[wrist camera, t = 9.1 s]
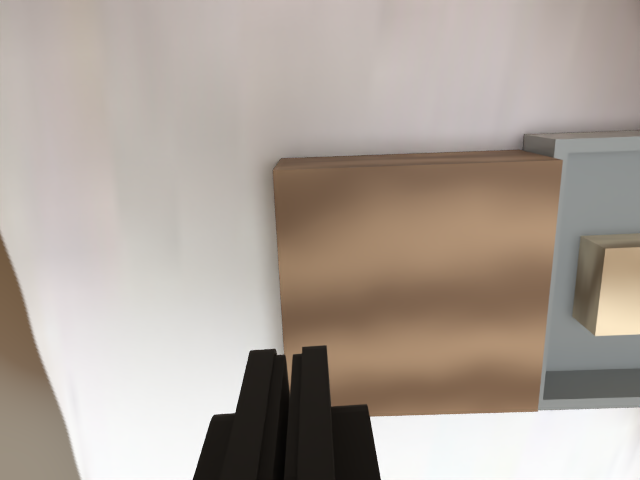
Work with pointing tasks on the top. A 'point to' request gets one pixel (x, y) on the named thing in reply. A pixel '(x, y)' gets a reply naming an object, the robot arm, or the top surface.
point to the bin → (573, 222)
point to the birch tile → (608, 284)
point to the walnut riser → (420, 276)
